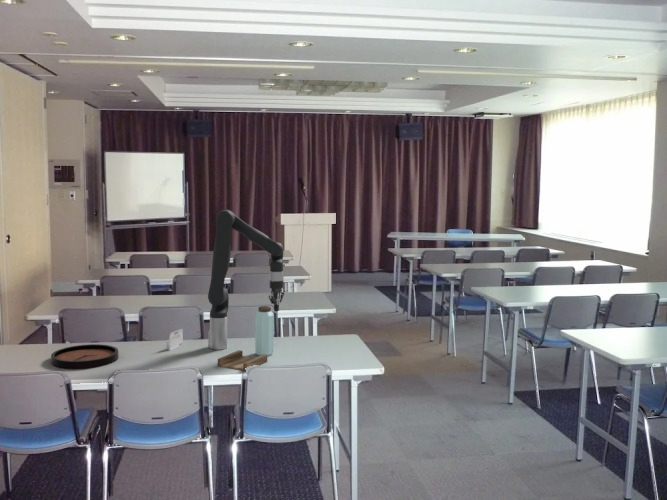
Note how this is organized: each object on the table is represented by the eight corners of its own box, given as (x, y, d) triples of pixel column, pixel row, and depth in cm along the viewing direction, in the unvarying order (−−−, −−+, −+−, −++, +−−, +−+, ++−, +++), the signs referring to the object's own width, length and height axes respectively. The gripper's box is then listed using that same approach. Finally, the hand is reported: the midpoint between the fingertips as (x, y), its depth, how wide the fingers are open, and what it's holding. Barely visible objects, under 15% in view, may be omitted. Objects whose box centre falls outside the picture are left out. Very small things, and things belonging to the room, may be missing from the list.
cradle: (217, 365, 307) (217, 358, 307) (238, 356, 323) (238, 350, 323) (247, 371, 300) (247, 364, 299) (267, 361, 316) (267, 354, 315)
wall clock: (98, 341, 334) (130, 352, 314) (98, 348, 335) (130, 360, 315) (39, 352, 311) (70, 365, 290) (39, 360, 311) (70, 374, 291)
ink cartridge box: (166, 350, 333) (166, 332, 332) (179, 345, 343) (179, 328, 342) (169, 350, 332) (169, 332, 331) (183, 346, 342) (183, 328, 341)
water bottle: (270, 357, 324) (271, 309, 321) (252, 355, 325) (252, 308, 323) (276, 352, 333) (276, 306, 330) (258, 350, 335) (258, 305, 332)
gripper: (276, 277, 343) (276, 308, 345) (264, 280, 331) (263, 312, 333) (288, 278, 340) (288, 309, 342) (276, 281, 328) (276, 314, 330)
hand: (276, 311), depth 338 cm, fingers closed
